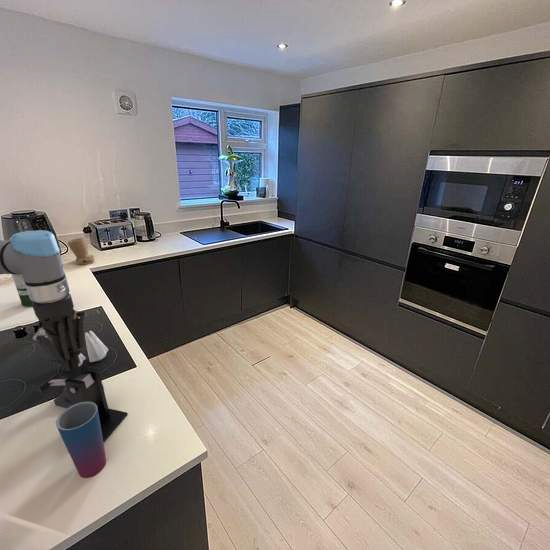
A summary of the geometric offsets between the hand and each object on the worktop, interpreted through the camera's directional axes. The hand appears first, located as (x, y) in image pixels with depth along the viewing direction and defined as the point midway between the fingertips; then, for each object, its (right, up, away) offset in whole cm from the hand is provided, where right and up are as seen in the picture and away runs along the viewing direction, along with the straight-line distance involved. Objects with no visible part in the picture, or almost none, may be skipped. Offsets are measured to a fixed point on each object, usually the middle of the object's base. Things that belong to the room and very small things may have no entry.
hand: (74, 376), depth 76 cm
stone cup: (-67, +35, +105) cm, 130 cm away
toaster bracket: (+9, -10, -5) cm, 15 cm away
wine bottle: (-56, +14, +53) cm, 78 cm away
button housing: (0, -7, +3) cm, 7 cm away
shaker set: (-7, -1, +17) cm, 18 cm away
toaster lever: (+5, +1, -9) cm, 10 cm away
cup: (+14, -14, -15) cm, 25 cm away
